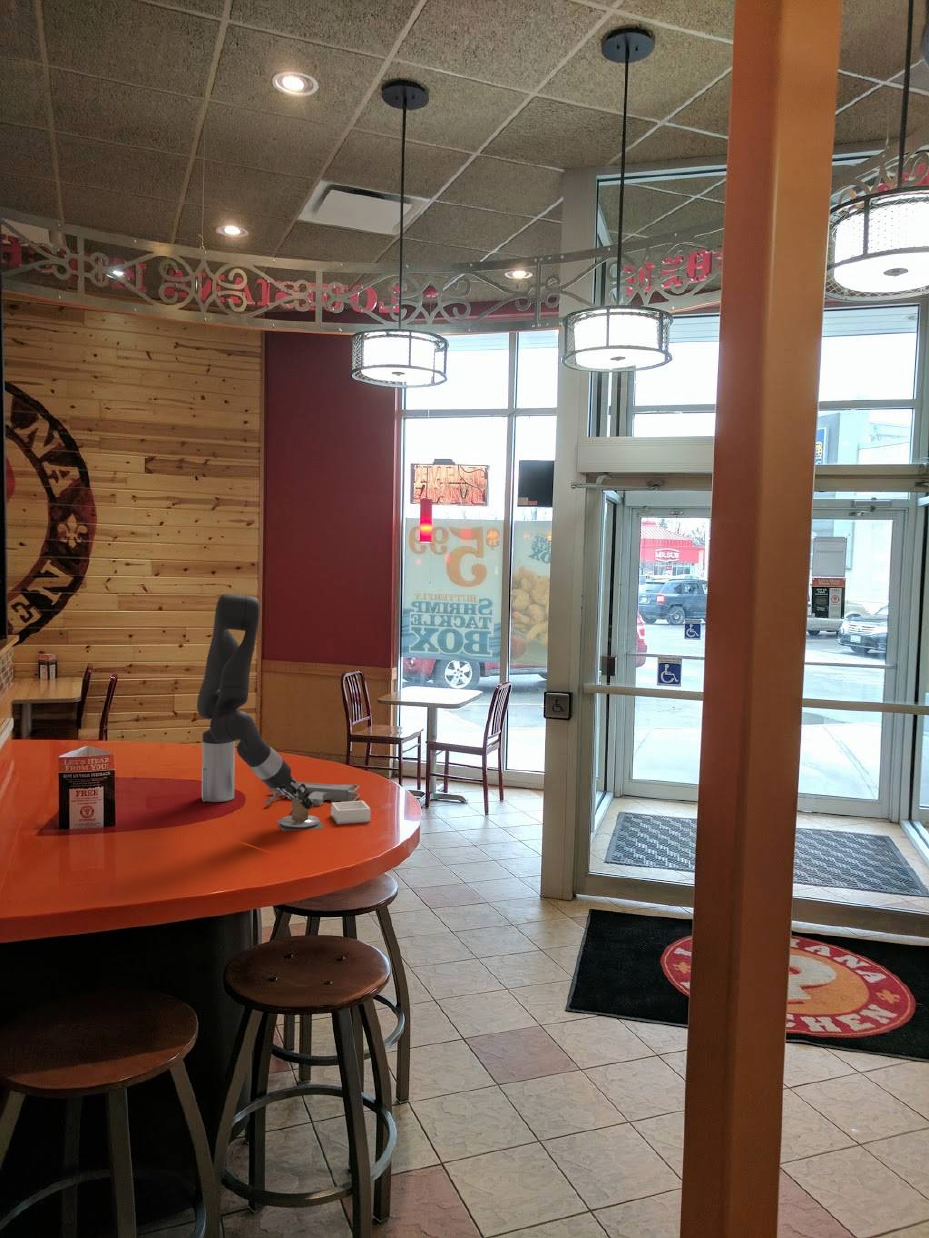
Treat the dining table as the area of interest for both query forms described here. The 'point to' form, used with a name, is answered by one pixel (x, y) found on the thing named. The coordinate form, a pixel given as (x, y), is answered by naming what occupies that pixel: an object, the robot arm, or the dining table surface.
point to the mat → (299, 829)
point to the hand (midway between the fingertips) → (306, 805)
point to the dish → (350, 812)
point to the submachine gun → (324, 793)
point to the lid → (299, 817)
